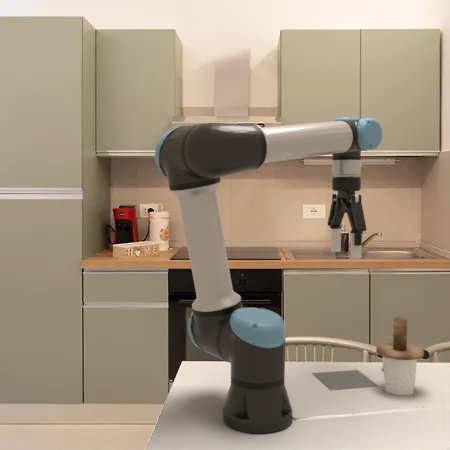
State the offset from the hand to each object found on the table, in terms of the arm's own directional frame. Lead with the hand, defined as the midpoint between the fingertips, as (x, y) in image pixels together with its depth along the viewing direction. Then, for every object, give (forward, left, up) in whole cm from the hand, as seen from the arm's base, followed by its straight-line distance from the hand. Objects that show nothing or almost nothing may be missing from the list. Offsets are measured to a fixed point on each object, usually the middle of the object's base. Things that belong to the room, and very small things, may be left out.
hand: (345, 254), depth 159 cm
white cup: (+6, -20, -32) cm, 38 cm away
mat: (-4, -10, -32) cm, 33 cm away
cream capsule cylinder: (+12, -6, -32) cm, 35 cm away
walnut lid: (+6, -20, -22) cm, 30 cm away
